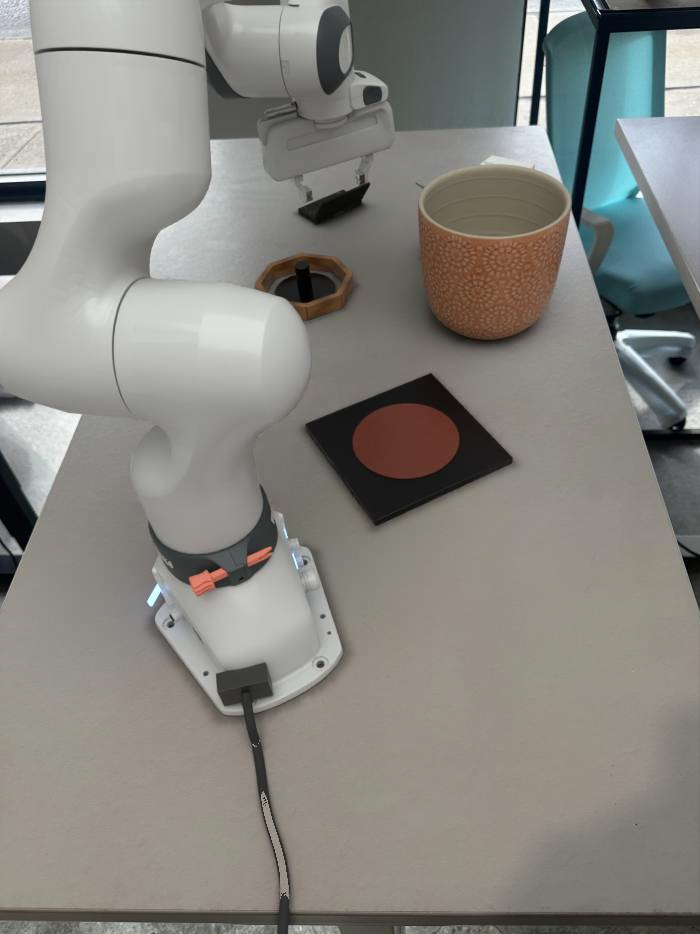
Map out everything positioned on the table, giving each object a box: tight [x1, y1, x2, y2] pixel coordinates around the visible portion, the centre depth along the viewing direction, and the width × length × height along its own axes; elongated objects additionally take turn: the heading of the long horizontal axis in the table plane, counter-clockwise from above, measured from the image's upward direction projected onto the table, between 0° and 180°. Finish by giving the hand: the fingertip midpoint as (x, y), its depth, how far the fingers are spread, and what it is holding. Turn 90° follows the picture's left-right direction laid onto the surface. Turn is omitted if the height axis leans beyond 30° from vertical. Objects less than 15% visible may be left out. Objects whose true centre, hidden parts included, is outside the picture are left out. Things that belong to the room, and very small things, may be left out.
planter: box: [417, 164, 573, 341], centre depth 107 cm, size 21×21×19 cm
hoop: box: [254, 252, 355, 321], centre depth 120 cm, size 15×15×2 cm
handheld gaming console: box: [297, 181, 371, 225], centre depth 135 cm, size 12×7×10 cm
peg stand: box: [274, 261, 337, 303], centre depth 119 cm, size 10×10×5 cm
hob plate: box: [304, 372, 514, 526], centre depth 96 cm, size 20×20×1 cm
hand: (334, 191), depth 111 cm, fingers open, 8 cm apart
